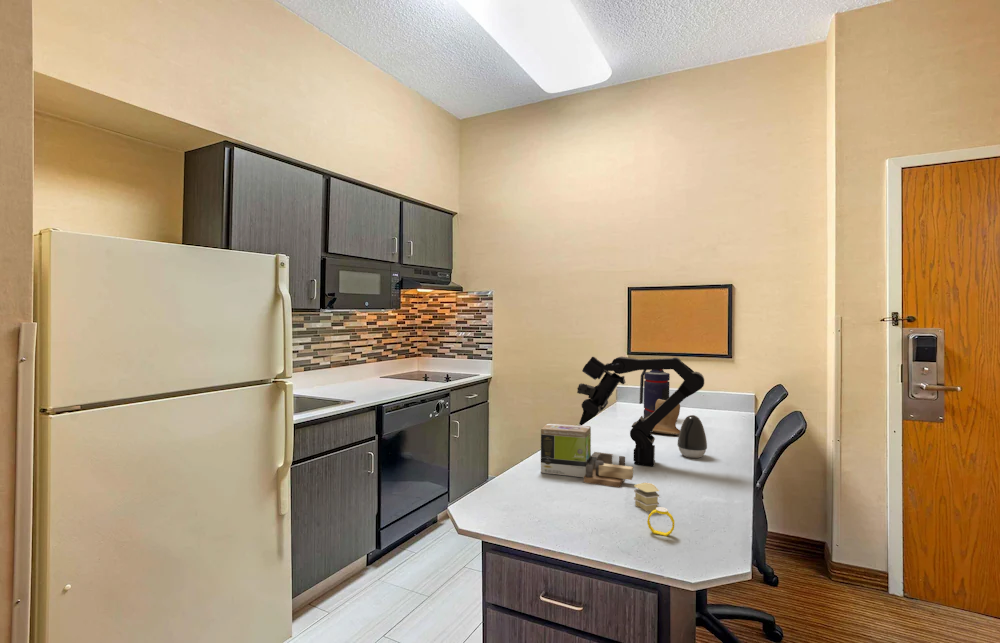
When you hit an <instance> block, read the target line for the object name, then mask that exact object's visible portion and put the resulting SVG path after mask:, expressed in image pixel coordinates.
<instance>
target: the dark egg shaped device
mask: <svg viewBox="0 0 1000 643" xmlns="http://www.w3.org/2000/svg"><path fill="white" fill-rule="evenodd" d="M679 430H680V433H679V434H678V437H677V447H678V450H679V453H681V454H682V456H683V457H686V458H690V459H699V458H701V457H703V456H704V455H705V454H706V452H707V451H706V450H707V449H708V442H707V436H706V435H707V434H706V432H705V427H704V425H703V422H702V421H701V420H700V418H699V417H698V416H696V415H694V414H692V415H691V414H690V415H688V416H686V418H684V420H683V421H682V425H681V427H680V429H679Z"/></svg>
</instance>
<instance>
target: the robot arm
mask: <svg viewBox="0 0 1000 643" xmlns="http://www.w3.org/2000/svg"><path fill="white" fill-rule="evenodd" d="M662 369H663V370H673V371H674V372H676V374H677V375H678V376H679V377H681V379H682V380H683V381H682V382H681V384H680V385H679V387H678V388H677V389H676V390H675V391H674V392H673V393H672V394H671V395H669V398H668V399H667V400H666V401H665V402H664V403H663V404H662V405H660V406H659V407H658V408H657V409H656V410H655V411H654V412H653V413H652V414H651V415H650V416H648V417H647V418H645V419H644V415H641V416H640V417H639V419H638V420H637V421H635V422H633V424H632V425H631V429H630V430H629V435H630V436H629V437H630V438H631V440H632V441H633V442H635V443H634V444H635V447H634V448H633V462H634V463H633V464H634V465H639V466H646V467H655V464H656V460H655V458H656V457H655V455H656V453H655V452H656V449H655V448H656V447H655V445H654V443H655V440H656V437H655V436H654V435H653V434H652V432H651V431H652V430H653V429H654V427H655V426H656V425H657V424H658V423H659V422H660V421H661V420H662V419H663V418H664V417H665V416H666V415H668V414H669V413H670V412H671V411H672V410H673V409H674V408H675V407H676V406H677V405H678V404H681V403H682V402H683V401H684V400H685V399H686V398H688V397H690V396H692V395H693V394H695V393H698V391H700V390H701V389H703V388H704V386H705V377H704V375H703V374H702V373H701V372H699V371H695V370H693V369H691V367H689V366H688V364H685V363H684V362H683V361H682V359H680V358H679V357H671V358H669V357H668V358H667V357H666V358H643V359H642V358H634V357H629V356H628V357H627V356H619V357H618V356H617V357H616V358H614V359H613V360H612V361H611V362H607V363H603V362H602V361H600V360H598V359H597V357H595V356H591V358H590V359H589V360H588V361H587V363H585V365H584V366H583V368H582V369H581V370H582V372H583V373H584V374H585V375H587V376H589V377H590V378H591V379H593V380H594V381H596V380H597V379H598V380H599V383H598V384H597V385H595V386H593V385H589V384H586V383H582V382H581V383H579V384H578V386H577V388H576V389H577V392H576V393H577V394H580V395H585V396H588V397H587V398H585V399H584V400H583V401H582V403H581V408H582V414H581V417H580V420H579V426H584V425H585V424H586V423H588V422H589V421H591V420H592V419H593V418H595V417H596V416H598V414H599V413H601V411H603V410H604V409H605V408H607V406H608V404H609V401H608V400H609V398H610V397H611V396H612V395H613V392H614V391H615V389H616V387H617V386H618V385H619V383H620V384H621V385H625V384H626V379H625V375H623V374H628V373H632V372H635V371H643V370H646V371H651V370H662ZM612 372H613V373H612ZM620 375H623V376H620ZM600 379H601V380H600Z"/></svg>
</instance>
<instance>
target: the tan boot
mask: <svg viewBox="0 0 1000 643" xmlns="http://www.w3.org/2000/svg"><path fill="white" fill-rule="evenodd" d="M665 401H666V400H661V399H658V400H657V401H656V404H655V410H656V409H657V408H658V407H659V406H660V405H662V404H663V403H664V402H665ZM680 412H681V403H679V404H678V405H677V406H676V407H675V408H674V409H673V410H672V411H671V412H670V413H669V414H668V415H666V416H665V417H664V418H663V419H662V420H661V421H660V422H659V423H658V424H657V425H656V426H655V427H654V429H653V430H652V431H651V433H655V434H663V435H679V433H680V429H679V428H677V421H678V419H679V415H680Z"/></svg>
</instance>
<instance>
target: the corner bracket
mask: <svg viewBox="0 0 1000 643" xmlns="http://www.w3.org/2000/svg"><path fill="white" fill-rule="evenodd" d="M613 458H614V457H613V453H607V452H599V451H594V452H593V453H591V459H590V465H593V469H594V470H596V461H597V460H600V461H603V462H604V463H606V464H613Z"/></svg>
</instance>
